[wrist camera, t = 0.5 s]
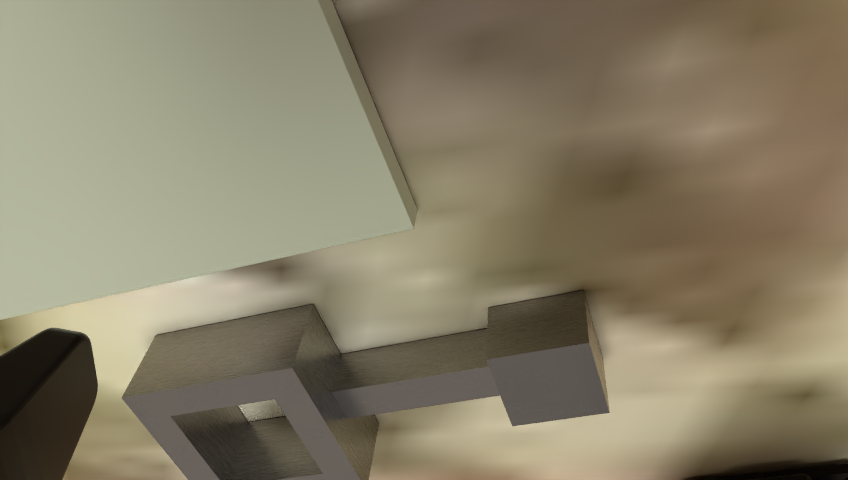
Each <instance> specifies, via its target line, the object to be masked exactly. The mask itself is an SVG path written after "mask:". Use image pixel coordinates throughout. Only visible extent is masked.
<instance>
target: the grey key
mask: <svg viewBox="0 0 848 480" xmlns="http://www.w3.org/2000/svg"><path fill="white" fill-rule="evenodd" d="M499 395H500V396H501V399H502V401H503V403H504V406H505V408H506V411H507V413H508V416H509V418H510V421H511V423H512V426H517V425H524V424H532V423H539V422H546V421H553V420H560V419H568V418H575V417H582V416H589V415H596V414H603V413H610V412H609V404H608V396H607V388H606V380H605V372H604V364H603V357H602V354H601V350H600V347H599V343H598V340H597V336H596V332H595V329H594V325H593V322H592V318H591V315H590V311H589V307H588V304H587V300H586V297H585V293H584V290H583V291H578V292H572V293H567V294H561V295H556V296H551V297H545V298H540V299H534V300H529V301H523V302H518V303H513V304H507V305H502V306H496V307H491V308H488V326H487V329H482V330H477V331H471V332H465V333H460V334H454V335H448V336H443V337H437V338H431V339H426V340H420V341H414V342H409V343H403V344H397V345H392V346H386V347H381V348H375V349H369V350H364V351H358V352H352V353H347V354H340V352H339V350H338V349H337V347H336V345H335V343H334V341H333V340H332V338H331V336H330V334H329V332H328V330H327V329H326V327H325V325H324V323H323V321H322V320H321V318H320V316H319V314H318V312H317V310H316V309H315V307H314V305H313V304H311V305H306V306H301V307H296V308H291V309H286V310H281V311H276V312H271V313H266V314H261V315H256V316H251V317H246V318H241V319H236V320H231V321H226V322H221V323H216V324H211V325H206V326H201V327H196V328H191V329H186V330H181V331H176V332H171V333H166V334H161V335H156V336H155V338H154V340H153V342H152V343H151V345H150V347H149V349H148V351H147V352H146V354H145V356H144V358H143V360H142V362H141V363H140V365H139V367H138V369H137V371H136V373H135V374H134V376H133V378H132V380H131V382H130V384H129V385H128V387H127V389H126V391H125V393H124V394H123V396H122V399H123V400H124V401H125V403H126V404H127V405H128V406H129V408H130V409H131V410H132V411H133V413H134V414H135V415H136V416H137V417H138V419H139V420H140V421H141V422H142V424H143V425H144V426H145V427H146V428H147V430H148V431H149V432H150V433H151V435H152V436H153V437H154V438H155V439H156V441H157V442H158V443H159V444H160V446H161V447H162V448H163V449H164V451H165V452H166V453H167V454H168V455H169V457H170V458H171V459H172V460H173V462H174V463H175V464H176V465H177V466H178V468H179V469H180V470H181V471H182V473H183V474H184V475H185V476H186V477H187V479H188V480H369V475H370V469H371V464H372V458H373V453H374V448H375V442H376V437H377V432H378V426H379V423H378V421H377V419H376V418H375V416H374V414H380V413H387V412H393V411H400V410H407V409H413V408H420V407H426V406H433V405H440V404H446V403H453V402H459V401H466V400H473V399H479V398H486V397H492V396H499ZM272 399H275V400H276V402H277V403H278V405H279V406H280V408H281V410H282V411H283V413H284V414H285V417H279V418H272V419H266V420H259V421H253V422H248V421H247V420H246V419H245V417H244V416H243V414H242V413H241V411H240V410H239V408H238V407H237V406H236V405H241V404H247V403H254V402H260V401H266V400H272Z"/></svg>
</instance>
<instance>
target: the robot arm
mask: <svg viewBox="0 0 848 480" xmlns="http://www.w3.org/2000/svg"><path fill="white" fill-rule="evenodd" d="M97 388H98V383H97V376H96V370H95V364H94V358H93V352H92V346H91V342H90V339H89V338H88V336H87V335H86V334H84V333H81V332H76V331H70V330H65V329H59V328H49V329H46V330H44V331H42V332H40V333H38V334H36V335H35V336H33V337H31V338H30V339H28V340H26V341H25V342H23V343H21V344H20V345H18V346H16V347H14V348H13V349H11V350H9V351H8V352H6V353H4V354H3V355H1V356H0V480H62V479H63V477H64V474H65V472H66V470H67V467H68V465H69V463H70V460H71V458H72V455H73V453H74V451H75V448H76V446H77V443H78V441H79V439H80V436H81V434H82V432H83V429H84V427H85V424H86V422H87V420H88V417H89V415H90V413H91V410H92V408H93V405H94V403H95V399H96V395H97ZM705 480H848V464H839V465H830V466H821V467H812V468H803V469H794V470H785V471H776V472H767V473H758V474H749V475H740V476H731V477H722V478H714V479H705Z"/></svg>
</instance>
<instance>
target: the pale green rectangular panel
mask: <svg viewBox="0 0 848 480" xmlns="http://www.w3.org/2000/svg"><path fill="white" fill-rule="evenodd" d="M416 214H417V207H416V205H415V203H414V200H413V198H412V195H411V193H410V190H409V188H408V185H407V183H406V181H405V178H404V176H403V173H402V171H401V168H400V166H399V164H398V161H397V159H396V156H395V154H394V151H393V149H392V146H391V144H390V142H389V139H388V137H387V134H386V132H385V129H384V127H383V124H382V122H381V120H380V117H379V115H378V112H377V110H376V107H375V105H374V102H373V100H372V98H371V95H370V93H369V90H368V88H367V85H366V83H365V81H364V78H363V76H362V73H361V71H360V68H359V66H358V63H357V61H356V59H355V56H354V54H353V51H352V49H351V46H350V44H349V41H348V39H347V37H346V34H345V32H344V29H343V27H342V24H341V22H340V19H339V17H338V15H337V12H336V10H335V7H334V5H333V2H332V0H0V320H1V319H6V318H10V317H15V316H20V315H24V314H29V313H33V312H38V311H42V310H47V309H51V308H56V307H60V306H65V305H70V304H74V303H79V302H83V301H88V300H92V299H97V298H101V297H106V296H110V295H115V294H120V293H124V292H129V291H133V290H138V289H142V288H147V287H151V286H156V285H160V284H165V283H170V282H174V281H179V280H183V279H188V278H192V277H197V276H201V275H206V274H210V273H215V272H219V271H224V270H229V269H233V268H238V267H242V266H247V265H251V264H256V263H260V262H265V261H269V260H274V259H279V258H283V257H288V256H292V255H297V254H301V253H306V252H310V251H315V250H319V249H324V248H329V247H333V246H338V245H342V244H347V243H351V242H356V241H360V240H365V239H369V238H374V237H379V236H383V235H388V234H392V233H397V232H401V231H406V230H410V229H414V225H415V220H416Z"/></svg>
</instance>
